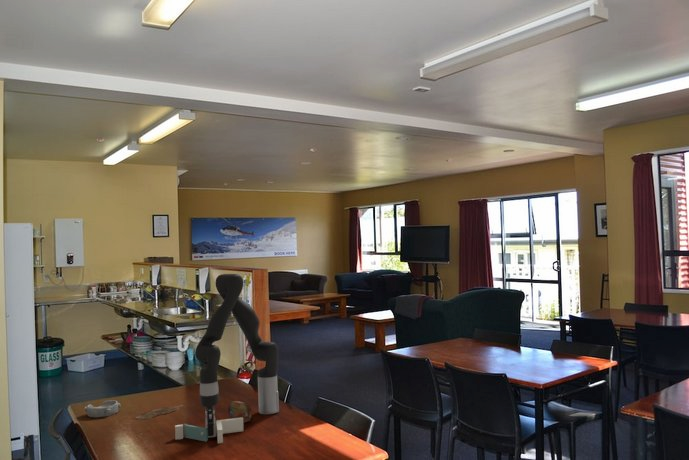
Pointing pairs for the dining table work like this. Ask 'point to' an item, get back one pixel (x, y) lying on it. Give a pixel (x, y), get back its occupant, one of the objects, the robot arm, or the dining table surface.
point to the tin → (240, 410)
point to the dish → (103, 409)
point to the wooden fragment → (158, 412)
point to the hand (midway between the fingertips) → (210, 433)
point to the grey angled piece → (217, 428)
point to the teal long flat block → (195, 432)
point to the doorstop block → (213, 427)
